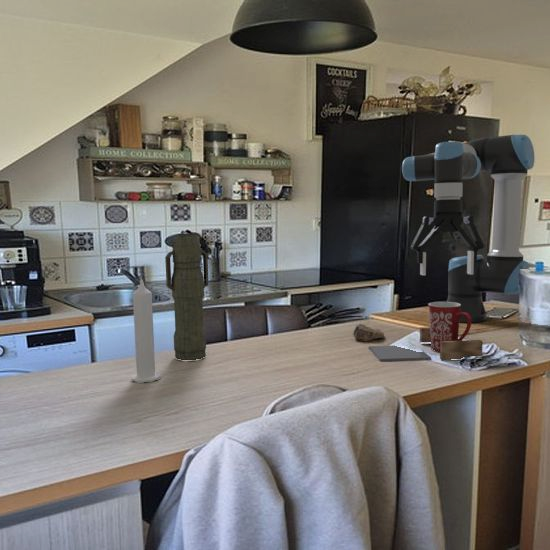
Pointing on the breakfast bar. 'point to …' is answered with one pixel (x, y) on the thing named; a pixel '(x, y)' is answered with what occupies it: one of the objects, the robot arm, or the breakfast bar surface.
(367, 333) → the rock
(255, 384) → the breakfast bar surface
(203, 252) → the thermos
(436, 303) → the mug
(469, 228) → the robot arm
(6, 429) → the breakfast bar surface
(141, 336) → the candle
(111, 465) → the breakfast bar surface
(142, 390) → the breakfast bar surface
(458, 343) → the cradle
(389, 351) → the coaster
